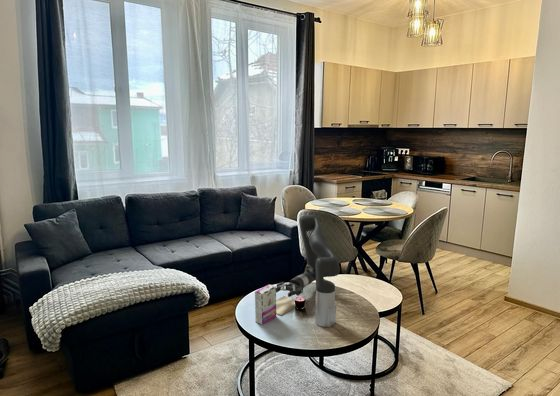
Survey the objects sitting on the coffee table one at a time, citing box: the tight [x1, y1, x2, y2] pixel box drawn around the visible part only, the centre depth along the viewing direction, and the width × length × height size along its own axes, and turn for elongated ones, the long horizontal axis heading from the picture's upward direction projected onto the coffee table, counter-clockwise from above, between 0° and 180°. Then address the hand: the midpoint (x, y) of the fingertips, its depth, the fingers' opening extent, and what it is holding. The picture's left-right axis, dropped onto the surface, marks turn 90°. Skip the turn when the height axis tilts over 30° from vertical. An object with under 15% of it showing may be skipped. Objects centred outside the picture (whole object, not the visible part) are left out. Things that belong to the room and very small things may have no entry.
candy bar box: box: [254, 284, 277, 326], centre depth 189 cm, size 11×5×16 cm, turn 143°
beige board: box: [276, 295, 295, 317], centre depth 205 cm, size 12×19×1 cm, turn 144°
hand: (281, 293), depth 199 cm, fingers open, 8 cm apart
